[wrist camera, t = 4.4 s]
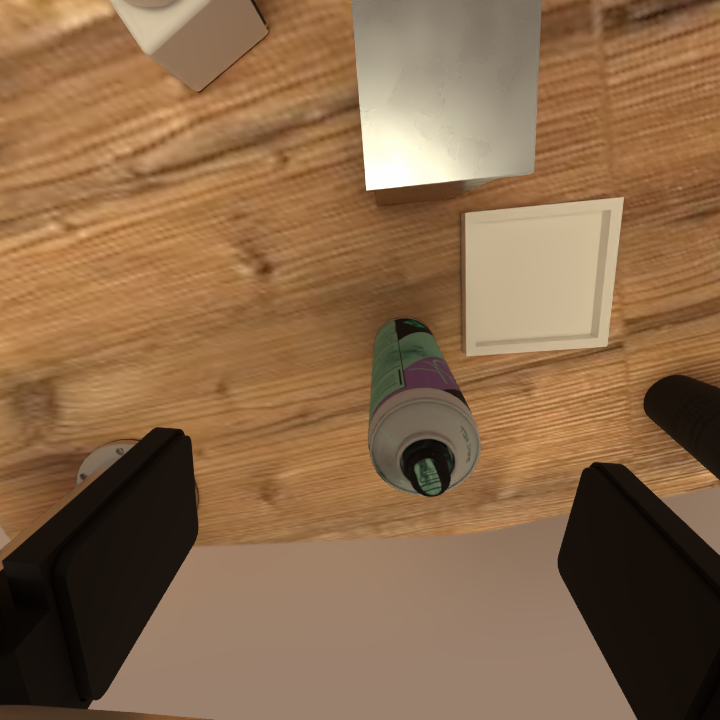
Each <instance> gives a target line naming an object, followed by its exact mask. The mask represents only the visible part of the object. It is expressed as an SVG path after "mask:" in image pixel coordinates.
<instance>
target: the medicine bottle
mask: <svg viewBox="0 0 720 720" xmlns="http://www.w3.org/2000/svg"><path fill="white" fill-rule="evenodd" d="M109 1H110V3H111V4H112V6H113V7H114V9H115V10H116V12H117V13H118V15H119V16H120V18H121V19H122V21H123V22H124V24H125V25H126V27H127V28H128V30H129V31H130V33H131V34H132V36H133V37H134V39H135V40H136V42H137V43H138V45H139V46H140V48H141V49H142V51H143V52H144V53H145V54H146V55H147V56H149V57H150V58H151V59H153V60H154V61H155V62H157V63H158V64H159V65H161V66H162V67H163V68H165V69H166V70H167V71H169V72H170V73H171V74H173V75H174V76H175V77H177V78H178V79H179V80H181V81H182V82H183V83H185V84H186V85H187V86H189V87H190V88H191V89H193V90H194V91H196V92H199V91H201V90H202V89H203V88H204V87H206V86H207V85H208V84H209V83H210V82H212V81H213V80H214V79H215V78H216V77H217V76H219V75H220V74H221V73H222V72H223V71H225V70H226V69H227V68H228V67H229V66H230V65H232V64H233V63H234V62H235V61H236V60H238V59H239V58H240V57H241V56H242V55H243V54H245V53H246V52H247V51H248V50H249V49H251V48H252V47H253V46H254V45H255V44H257V43H258V42H259V41H260V40H261V39H262V38H264V37H265V36H266V35H267V34H268V31H269V28H268V25H267V23H266V21H265V20H264V18H263V16H262V14H261V12H260V11H259V9H258V7H257V5H256V3H255V2H254V0H109Z"/></svg>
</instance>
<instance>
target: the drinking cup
mask: <svg viewBox="0 0 720 720" xmlns="http://www.w3.org/2000/svg"><path fill="white" fill-rule="evenodd" d="M644 409H645V412H646V414H647V415H648V417H649V418H650V419H652V420H653V421H654V422H655V423H656V424H657V425H658V426H659V427H661V428H662V429H663V430H664V431H665V432H666V433H667V434H668V435H670V436H671V437H672V438H673V439H674V440H675V441H676V442H677V443H679V444H680V445H681V446H682V447H683V448H684V449H685V450H686V451H688V452H689V453H690V454H691V455H692V456H693V457H694V458H695V459H697V460H698V461H699V462H700V463H701V464H702V465H703V466H704V467H706V468H707V469H708V470H709V471H710V472H711V473H712V474H713V475H715V476H716V477H717V478H718V479H719V480H720V388H718V387H715V386H712V385H709V384H706V383H703V382H701V381H698V380H695V379H692V378H689V377H686V376H681V375H675V376H669V377H666V378H664V379H661V380H660V381H658V382H657V383H655V384H654V385H653V386H652V387H651V388H650V389H649V391H648V392H647V394H646V396H645V400H644Z"/></svg>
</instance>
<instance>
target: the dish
mask: <svg viewBox="0 0 720 720" xmlns="http://www.w3.org/2000/svg"><path fill="white" fill-rule="evenodd" d="M623 200H624V197H620V198H610V199H600V200H590V201H580V202H570V203H560V204H549V205H539V206H529V207H519V208H509V209H499V210H489V211H479V212H469V213H462V214H461V289H462V351H463V352H464V354H465V355H466V356H479V355H493V354H507V353H521V352H535V351H549V350H564V349H578V348H592V347H606V346H607V343H608V334H609V325H610V316H611V307H612V298H613V289H614V280H615V271H616V262H617V253H618V244H619V236H620V227H621V218H622V209H623Z"/></svg>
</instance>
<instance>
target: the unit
mask: <svg viewBox="0 0 720 720" xmlns="http://www.w3.org/2000/svg"><path fill="white" fill-rule="evenodd" d="M351 2H352V14H353V27H354V39H355V52H356V64H357V77H358V89H359V102H360V114H361V127H362V139H363V152H364V164H365V177H366V189H367V192H373V191H375V196H376V202H377V206H386V205H396V204H406V203H415V202H425V201H435V200H445V199H452V198H455V197H457V196H459V195H461V194H463V193H466V192H468V191H470V190H472V189H474V188H477V187H479V186H481V185H483V184H485V183H488V182H490V181H492V180H494V179H497V178H506V177H515V176H525V175H529V174H531V173H534V162H535V139H536V117H537V94H538V71H539V49H540V26H541V3H542V0H351Z"/></svg>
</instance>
